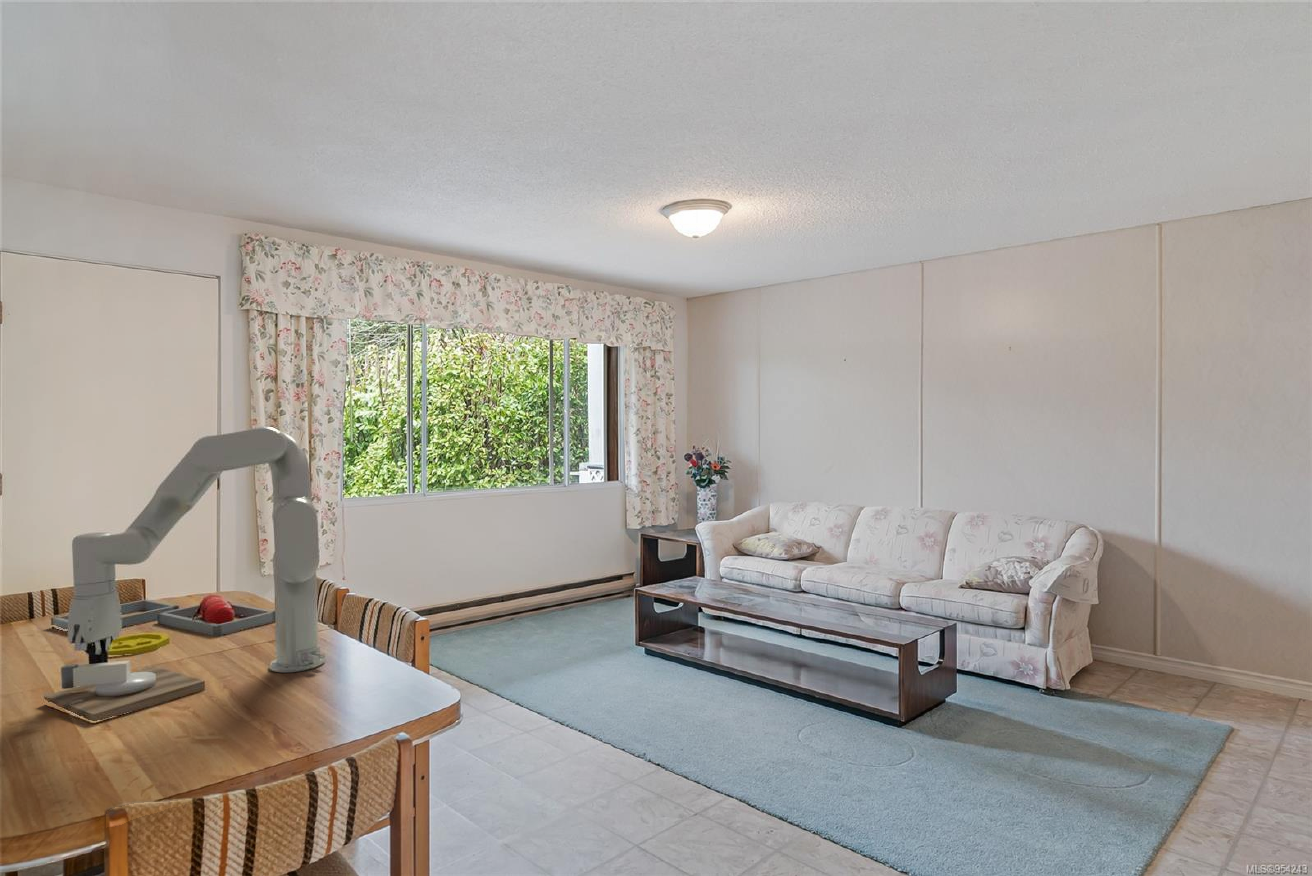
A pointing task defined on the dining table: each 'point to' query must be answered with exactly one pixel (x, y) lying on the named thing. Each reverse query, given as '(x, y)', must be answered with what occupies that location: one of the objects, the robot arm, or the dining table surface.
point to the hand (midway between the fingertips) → (98, 670)
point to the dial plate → (126, 696)
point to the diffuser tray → (133, 619)
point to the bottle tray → (182, 621)
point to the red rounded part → (215, 610)
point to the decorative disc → (138, 643)
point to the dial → (107, 678)
